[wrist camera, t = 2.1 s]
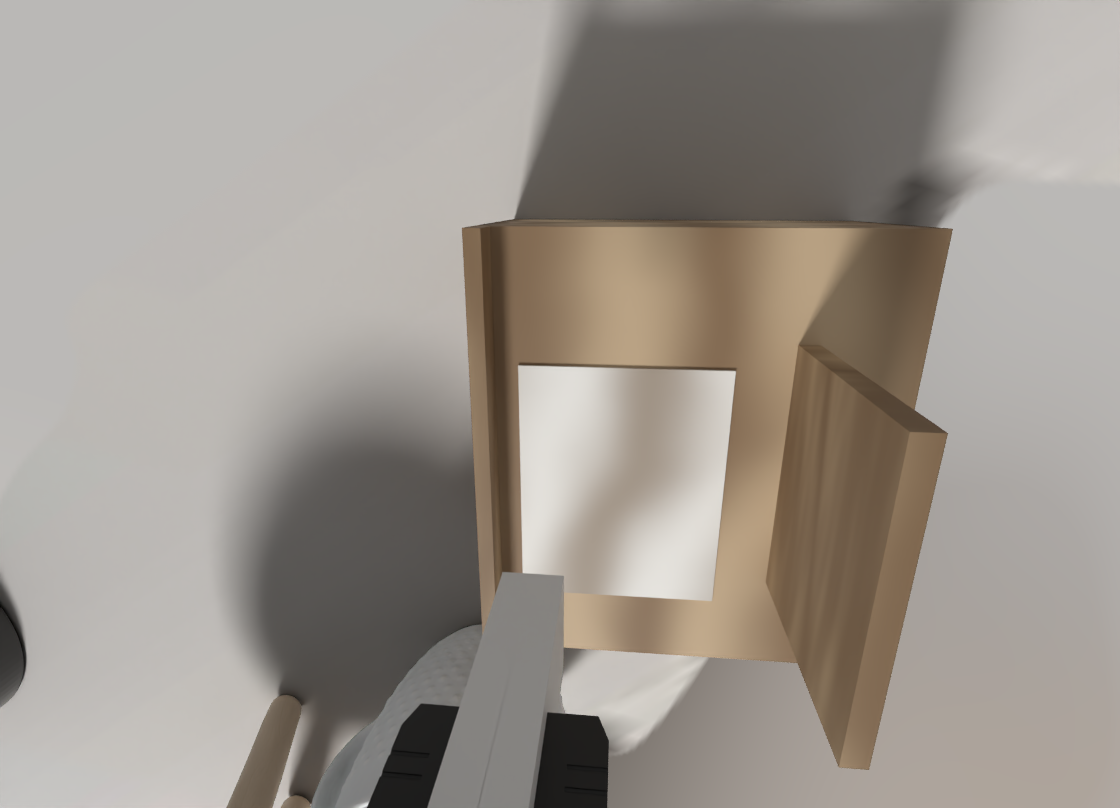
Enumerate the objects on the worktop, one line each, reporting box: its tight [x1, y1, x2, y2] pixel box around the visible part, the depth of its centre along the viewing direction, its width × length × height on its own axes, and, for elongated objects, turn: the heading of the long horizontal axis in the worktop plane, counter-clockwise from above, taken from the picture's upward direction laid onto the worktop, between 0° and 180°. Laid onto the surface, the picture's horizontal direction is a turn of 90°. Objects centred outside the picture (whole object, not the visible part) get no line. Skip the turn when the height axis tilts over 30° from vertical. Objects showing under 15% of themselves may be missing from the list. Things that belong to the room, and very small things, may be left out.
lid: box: [462, 225, 953, 770], centre depth 19 cm, size 16×18×9 cm
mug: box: [311, 624, 565, 808], centre depth 32 cm, size 15×11×13 cm
